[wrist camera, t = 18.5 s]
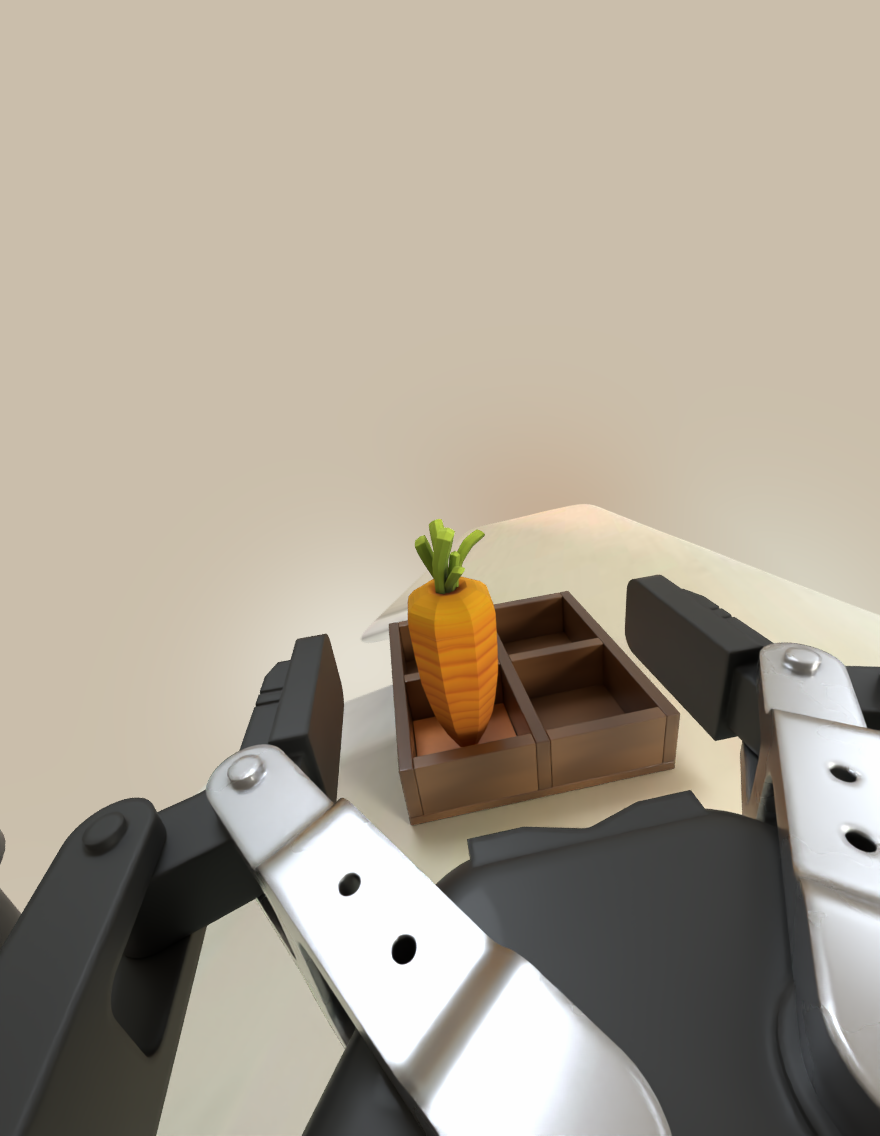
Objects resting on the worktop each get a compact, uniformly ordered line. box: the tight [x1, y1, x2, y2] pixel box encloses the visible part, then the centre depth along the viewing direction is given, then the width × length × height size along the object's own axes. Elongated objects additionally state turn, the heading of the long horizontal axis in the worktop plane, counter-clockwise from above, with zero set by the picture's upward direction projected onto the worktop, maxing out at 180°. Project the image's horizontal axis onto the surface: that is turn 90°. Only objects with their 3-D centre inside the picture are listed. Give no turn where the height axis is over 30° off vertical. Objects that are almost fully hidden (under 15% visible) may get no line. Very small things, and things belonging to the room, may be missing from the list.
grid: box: [389, 591, 680, 825], centre depth 32 cm, size 15×15×4 cm
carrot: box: [408, 519, 498, 747], centre depth 26 cm, size 5×5×15 cm
